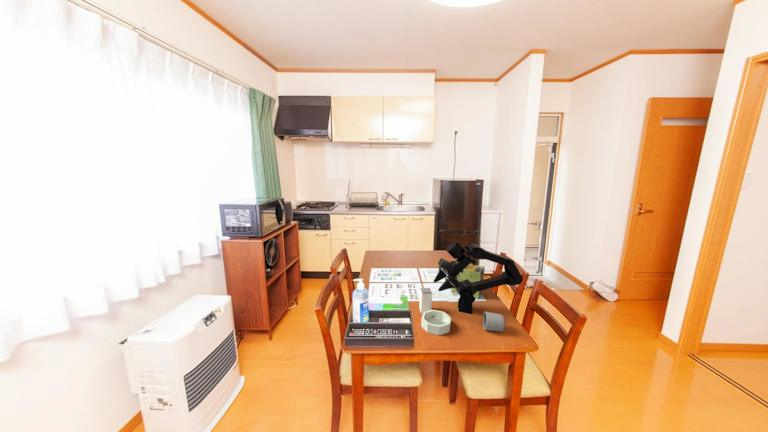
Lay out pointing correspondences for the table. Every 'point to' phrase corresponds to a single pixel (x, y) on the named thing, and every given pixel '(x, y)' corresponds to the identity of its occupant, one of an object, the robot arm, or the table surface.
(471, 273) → the protein box
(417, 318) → the table surface
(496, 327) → the ceramic mug
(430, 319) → the sage bowl
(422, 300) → the pebble canister
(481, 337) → the table surface
